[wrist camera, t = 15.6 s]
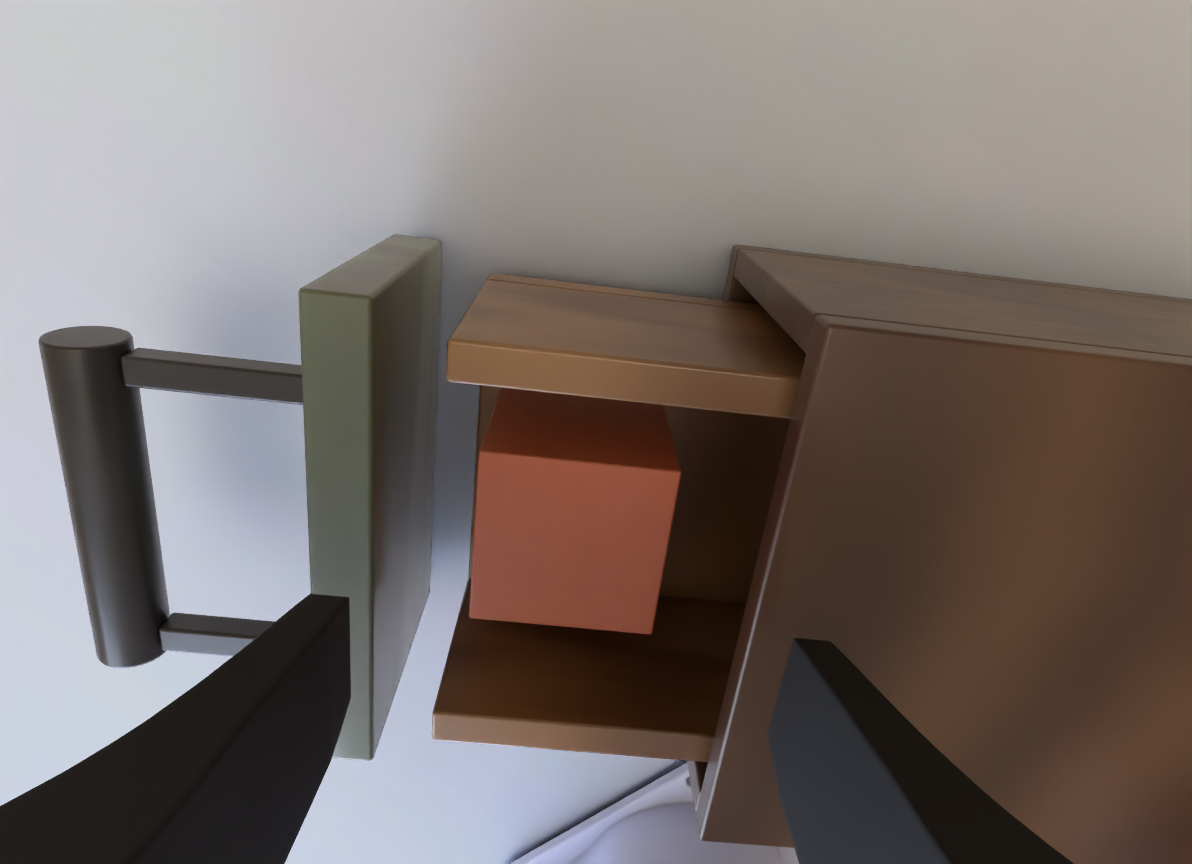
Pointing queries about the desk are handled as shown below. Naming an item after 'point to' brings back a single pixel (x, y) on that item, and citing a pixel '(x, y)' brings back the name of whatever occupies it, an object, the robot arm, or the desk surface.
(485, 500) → the block
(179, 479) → the desk surface
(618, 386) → the drawer
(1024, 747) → the cabinet
